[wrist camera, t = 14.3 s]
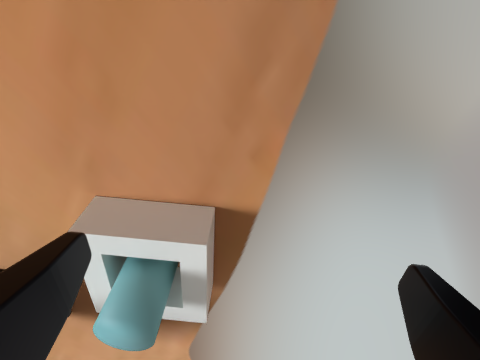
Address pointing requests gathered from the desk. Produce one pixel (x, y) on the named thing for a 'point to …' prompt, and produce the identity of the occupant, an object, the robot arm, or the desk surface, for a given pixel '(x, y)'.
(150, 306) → the peg
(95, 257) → the socket
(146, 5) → the desk surface
